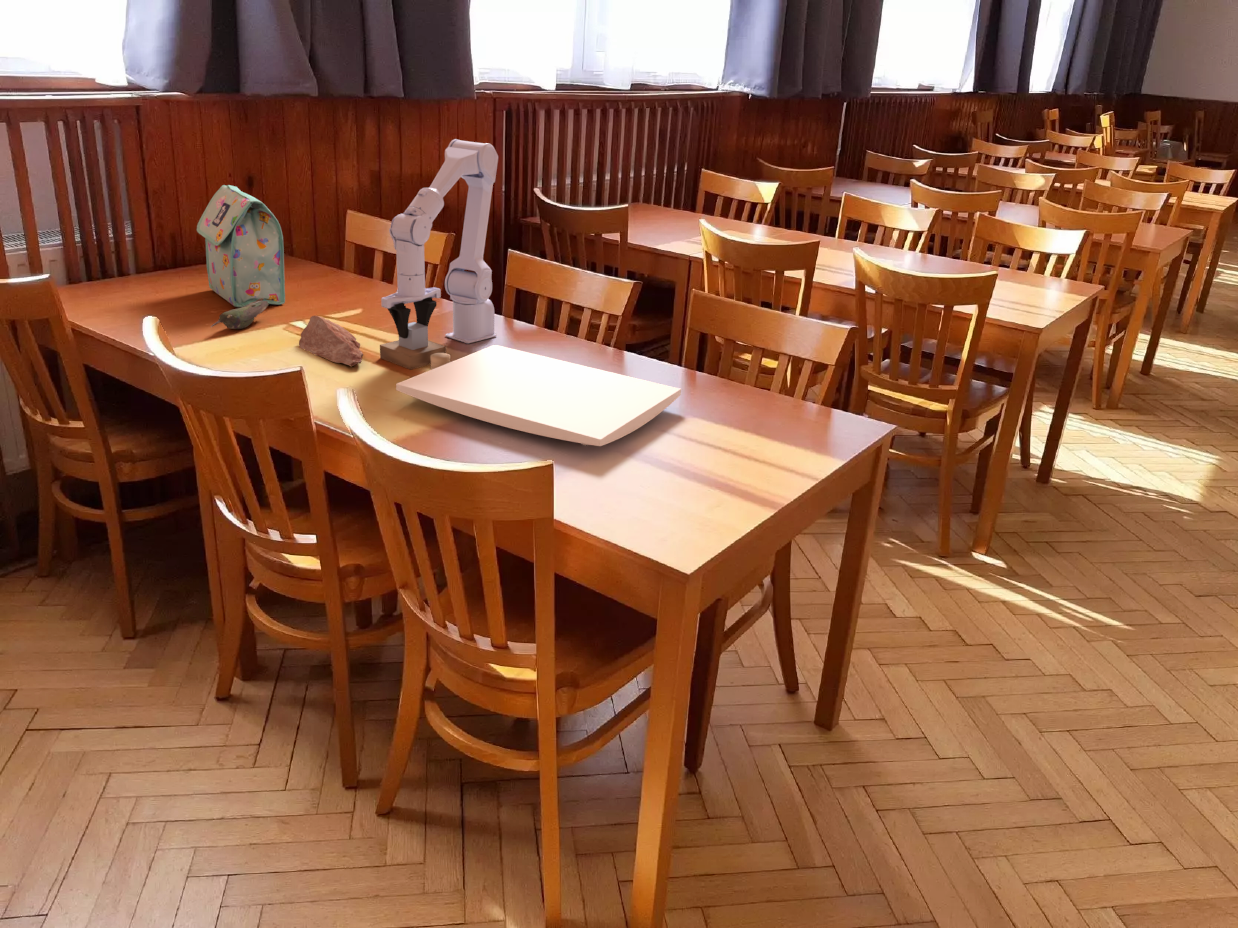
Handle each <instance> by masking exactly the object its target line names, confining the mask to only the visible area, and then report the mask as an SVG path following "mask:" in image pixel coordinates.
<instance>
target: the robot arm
mask: <svg viewBox="0 0 1238 928" xmlns="http://www.w3.org/2000/svg"><path fill="white" fill-rule="evenodd" d="M498 163H499V155H498V153H497V151H496V149H495V146H494V145H492V144H491V143H489V142H488V143H487V142H485V143H483V142H477V141H475V142H474V141H468V140H460V139H457V138H454V139H452V140H451V141H450V142H449V144H448V146H447V147H446V148H445V150H444V162H443V164H442V165H441V167H440V169H439V170H438V172H437V173H436V176H435V177H434V179H433V181H432V182H431V184H430V186H429V187H422V188H420V189H419V191H418V192H417V194H416V196H415V197H414V198H413V199H412V201H411V202H410V204H409V205H408V206H407V208H406V209H405V210H404V212H403V213H400V214H397V215H396V216H394V217H393V218H392V220H391V223H390V227H389V228H388V231H389V235H390V238H391V239H392V241H393V248H394V249H395V251H396V253H395V254H396V274H397V290H396V291H395V293H391V294H389V295H387V296H383V297H381V298H380V299H381V301H380V302H381V303H380V304H381V308H384V309H387V310H388V312H389V314H390V315H391V318H392V319H393V322H394V325H395V327H396V330H397V335H398V338H399V337H401V338H404V339H405V338H407V337H408V323H409V320H410V315H411V311H412V310H411V308H409V307H407V305H406V304H410V303H411V304H412V303H413V306H414V310H415V315H416V323H419V324H422V325H425V326H428V327H429V323H430V319H431V317H432V314H433V312H434V310H435V308H436V307H437V301H436V300H434V298H435V299H440V298H442V297H441V296H442V295H441V294H442V292H441V291H442V290H441V288H439V287H436V286H434V287H426V272H425V271H426V269H425V267H426V266H425V244H426V243H427V242H428V240H429V239H430V236H431V230H432V228H433V222H434V220H436V218H437V217H438V214H440V212H441V211H442V210H443V208H444V206H445V201H444V197H445V196H446V195H447V193H448V192H449V191H450V190H451V189H452V188H453V187H454V185H456V183H457V182H458V181H459V180H460V178H462V179H463V180H464V181H465V183H466V185H467V186H468V191H467V197H466V205H465V211H464V220H463V229H462V234H461V235H462V236H461V244H460V251H459V256H458V257H457V258H455V259H454V260H452V261H451V262H449V267H448V272H447V274H446V276H445V279H444V288H445V291H446V294H448V295H449V296H450V297H449V300H452V332H449V333H448V332H447V333H446V334H445V337H447V338H449V339H453V340H455V341H458V342H462V343H465V344H472V343H476V342H480V341H483V340H487V339H488V340H489V339H491V338H496V337H497V336H498V335H497V334H496V333H495V307H494V304H493V302H492V300H491V299H489V298H490V297H491V295H492V292H493V282H492V281H493V280H492V274H493V273H492V272H493V270H492V269H491V267H490V266H489V265H488V263H486V262H485V260H484V254H485V247H486V238H487V231H488V224H489V218H490V217H489V216H490V209H491V201H492V192H493V188H494V186H493V185H494V183H496V177H497V176H496V175H497V169H498ZM467 270H468V271H467Z"/></svg>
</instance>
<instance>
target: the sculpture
mask: <svg viewBox="0 0 1238 928" xmlns="http://www.w3.org/2000/svg"><path fill="white" fill-rule="evenodd" d="M263 300H264V298H259V299H258V300H256V301H254V302H252V303H250V304H248V305H246V306H244V307H237V308H235V309H230V310H228V311H224V312H222V313H221V314H219V318H218V320H217V321H216V322H215V323H213V324H212V325H211V326H210V328H213V327H215V326H217V325H218V324H220V323H222V324H223V325H224V326H225V327H226V328H227V329H231V330H243V329H245V328H247V327H248V326H250V325H252V324H253V322H254V320H255V318H257V316H258V315H260V314H262V312H264V311H265V310H266V309H267V308H268V306H269V305H270V304H269V303H268V302H267V301H263Z"/></svg>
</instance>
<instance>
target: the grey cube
mask: <svg viewBox="0 0 1238 928" xmlns="http://www.w3.org/2000/svg"><path fill="white" fill-rule="evenodd" d="M398 340H399V345H400V346H402V347H405V348H408V349H411V350H415V349H418V348H422V347H426V346H428V341H429V325H428V326H425V325H422V324H419V323H417V321H416V322H415V321H412V322H408V337H407V338H405V339H404V338H401V337H399V336H398Z"/></svg>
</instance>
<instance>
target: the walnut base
mask: <svg viewBox="0 0 1238 928" xmlns="http://www.w3.org/2000/svg"><path fill="white" fill-rule="evenodd" d="M434 353H446V354H447V346H445V345H443V344H440V343H437V342H433V341H430V340H428V346H426V347H422V348H418V349H415V350H411V349H408V348H405V347H402V346H400V345H399V339H398V340H395V341H390V342H386V343H383V344H379V358H380V359H382V360H384V361H387V362H390V363H392V364H394V365H397V366H400V367H402V368H405V369H408V370H413V369H417V368H420V367H421V368H422V367H424V366H427V365H431V354H434Z"/></svg>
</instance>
